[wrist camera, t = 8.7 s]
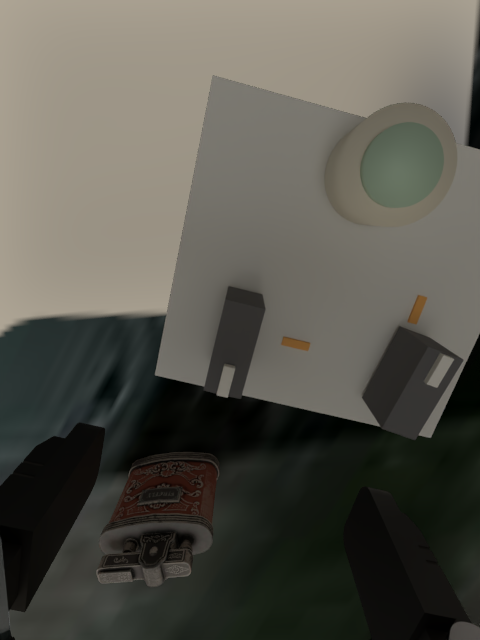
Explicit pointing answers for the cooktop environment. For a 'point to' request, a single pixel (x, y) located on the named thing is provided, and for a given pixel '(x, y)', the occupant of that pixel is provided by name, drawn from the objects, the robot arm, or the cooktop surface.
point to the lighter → (160, 519)
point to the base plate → (325, 245)
